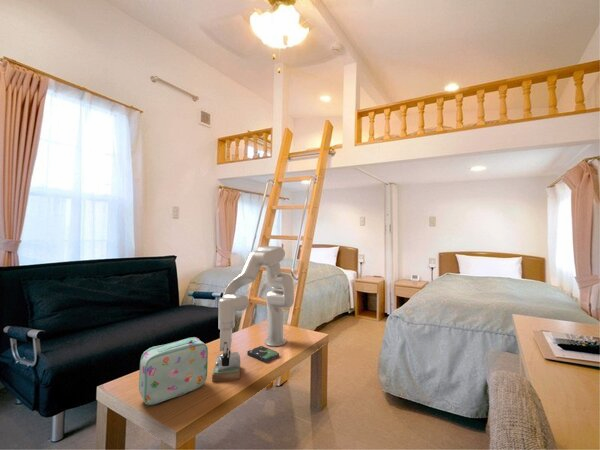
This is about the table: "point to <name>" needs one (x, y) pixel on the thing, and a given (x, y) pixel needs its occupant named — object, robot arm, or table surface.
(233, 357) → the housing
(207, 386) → the table surface
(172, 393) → the lunch box
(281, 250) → the robot arm
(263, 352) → the disk drive
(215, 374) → the green and brown block
